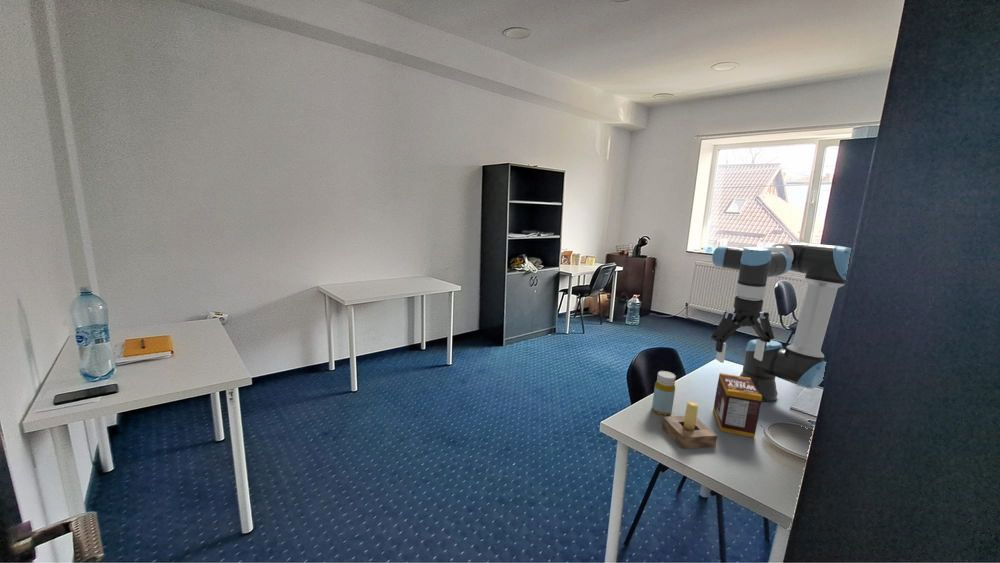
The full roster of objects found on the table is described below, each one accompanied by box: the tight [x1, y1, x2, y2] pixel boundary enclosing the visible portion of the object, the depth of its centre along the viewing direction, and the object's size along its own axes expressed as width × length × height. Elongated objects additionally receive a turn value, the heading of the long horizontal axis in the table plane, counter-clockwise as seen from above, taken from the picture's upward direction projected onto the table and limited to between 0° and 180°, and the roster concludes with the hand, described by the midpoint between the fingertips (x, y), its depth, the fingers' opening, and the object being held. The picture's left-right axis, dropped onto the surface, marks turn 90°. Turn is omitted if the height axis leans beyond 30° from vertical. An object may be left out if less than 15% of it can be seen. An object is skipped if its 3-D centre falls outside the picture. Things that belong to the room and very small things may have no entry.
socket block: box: [661, 415, 718, 449], centre depth 131 cm, size 12×12×4 cm
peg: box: [683, 401, 699, 431], centre depth 130 cm, size 3×3×12 cm
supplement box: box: [713, 372, 763, 438], centre depth 139 cm, size 10×15×16 cm
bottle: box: [651, 370, 677, 416], centre depth 145 cm, size 7×7×15 cm
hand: (738, 360), depth 125 cm, fingers open, 13 cm apart
